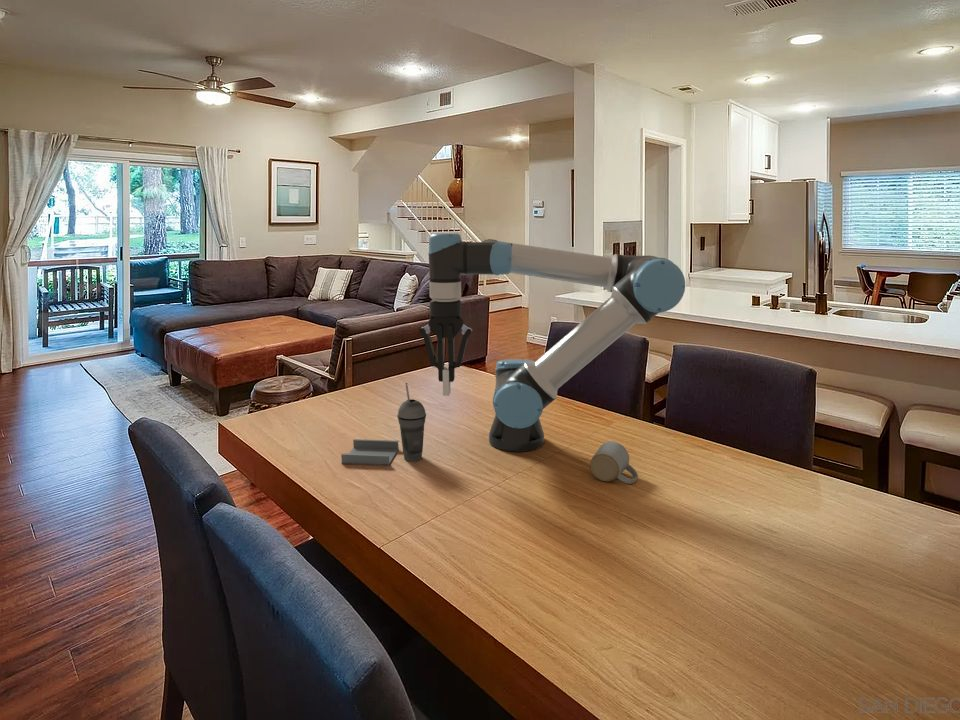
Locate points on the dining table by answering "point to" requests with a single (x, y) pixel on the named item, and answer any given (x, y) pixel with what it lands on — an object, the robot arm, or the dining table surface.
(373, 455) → the cradle
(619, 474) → the ceramic mug
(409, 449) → the beverage cup
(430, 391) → the dining table surface
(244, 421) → the dining table surface
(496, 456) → the dining table surface
